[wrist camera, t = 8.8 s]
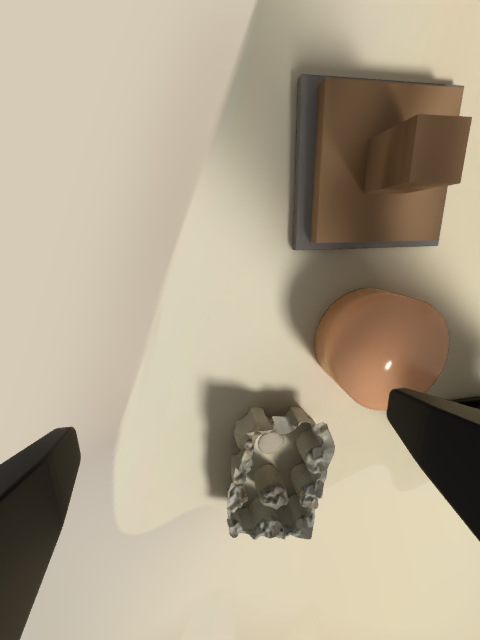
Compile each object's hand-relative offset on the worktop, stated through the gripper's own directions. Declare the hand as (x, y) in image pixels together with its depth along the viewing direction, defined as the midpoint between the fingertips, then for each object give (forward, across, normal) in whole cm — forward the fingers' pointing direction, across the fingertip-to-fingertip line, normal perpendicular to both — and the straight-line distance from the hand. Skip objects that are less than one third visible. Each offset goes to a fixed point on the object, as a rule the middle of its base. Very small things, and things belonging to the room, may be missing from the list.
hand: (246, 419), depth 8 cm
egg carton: (+14, -5, +14) cm, 20 cm away
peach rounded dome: (+13, -12, +3) cm, 18 cm away
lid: (+12, -12, -9) cm, 19 cm away
